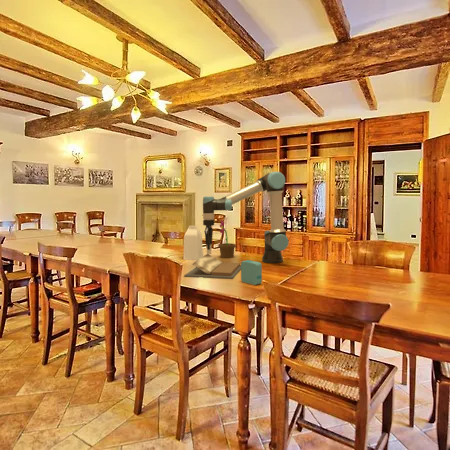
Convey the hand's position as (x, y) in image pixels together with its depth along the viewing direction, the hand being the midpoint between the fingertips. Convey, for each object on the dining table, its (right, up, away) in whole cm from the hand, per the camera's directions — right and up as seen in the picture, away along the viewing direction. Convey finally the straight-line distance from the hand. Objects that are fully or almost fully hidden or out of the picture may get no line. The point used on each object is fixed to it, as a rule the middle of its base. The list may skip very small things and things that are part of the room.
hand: (209, 254), depth 227 cm
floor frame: (+6, -10, -11) cm, 16 cm away
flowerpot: (+12, -6, +40) cm, 42 cm away
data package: (+25, -13, -40) cm, 49 cm away
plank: (0, -6, -10) cm, 11 cm away
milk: (-14, -7, +35) cm, 39 cm away
